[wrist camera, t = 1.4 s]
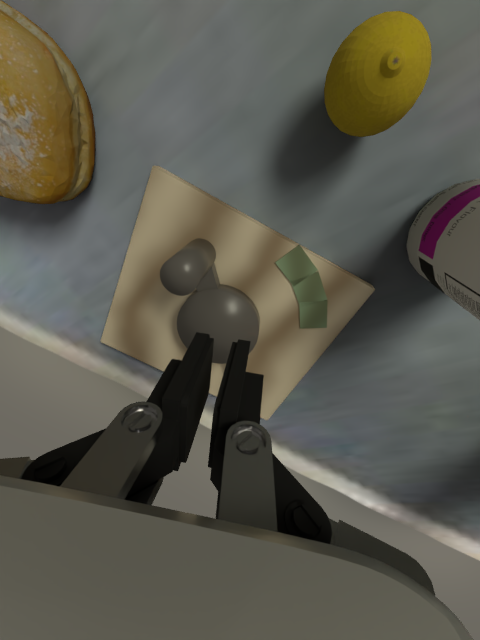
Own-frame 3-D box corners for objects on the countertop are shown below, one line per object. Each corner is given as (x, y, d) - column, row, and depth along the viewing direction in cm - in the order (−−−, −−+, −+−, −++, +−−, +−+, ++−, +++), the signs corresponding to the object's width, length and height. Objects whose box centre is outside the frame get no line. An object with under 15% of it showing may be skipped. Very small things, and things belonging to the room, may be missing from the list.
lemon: (330, 155, 23) (352, 149, 16) (307, 74, 20) (321, 25, 13) (405, 117, 21) (467, 92, 14) (389, 26, 19) (452, -58, 12)
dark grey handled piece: (277, 395, 33) (276, 443, 27) (211, 401, 34) (197, 447, 29) (239, 229, 24) (227, 247, 19) (155, 247, 26) (121, 269, 21)
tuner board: (373, 282, 27) (377, 288, 26) (267, 413, 36) (267, 421, 35) (159, 163, 24) (152, 163, 23) (106, 336, 34) (99, 342, 33)
